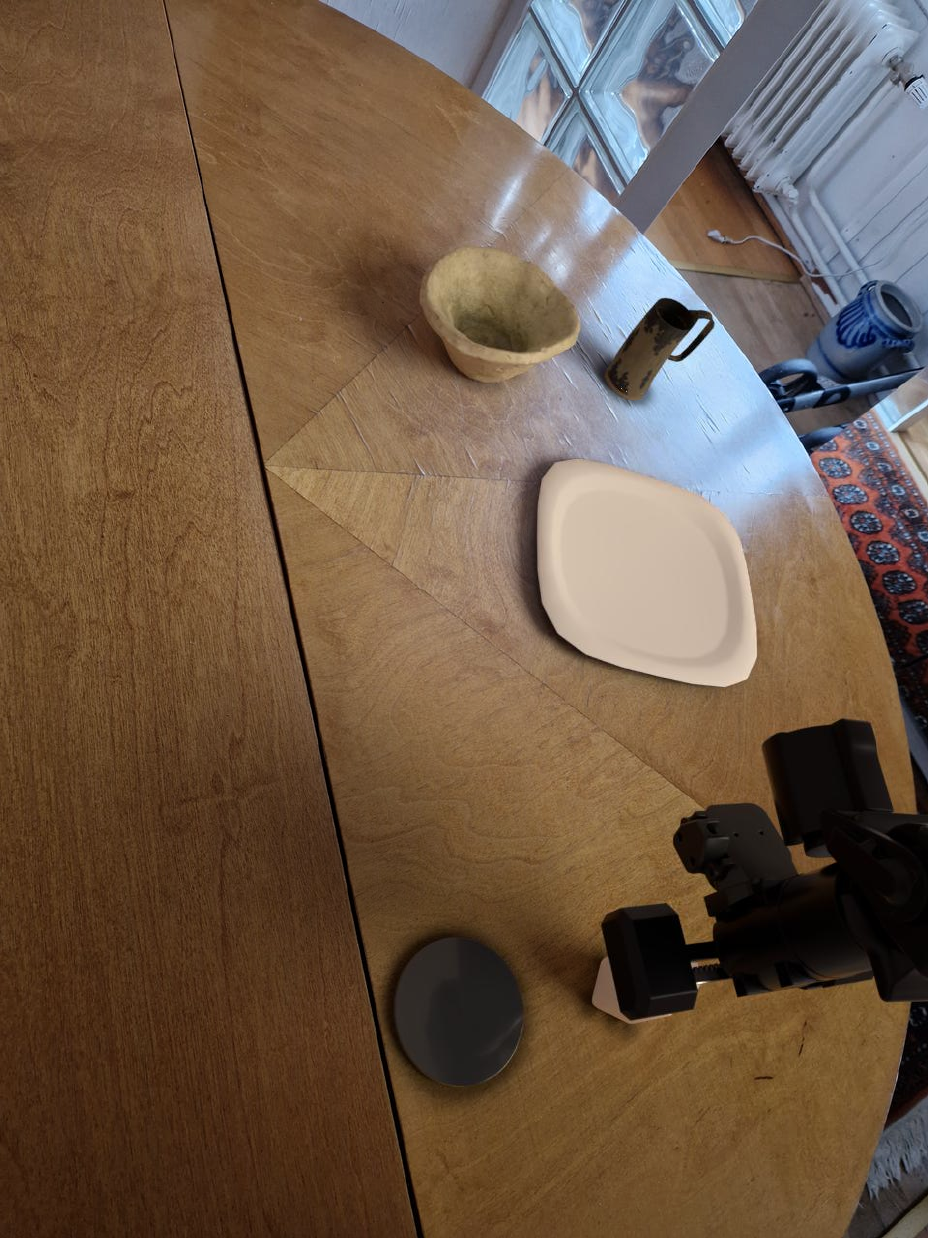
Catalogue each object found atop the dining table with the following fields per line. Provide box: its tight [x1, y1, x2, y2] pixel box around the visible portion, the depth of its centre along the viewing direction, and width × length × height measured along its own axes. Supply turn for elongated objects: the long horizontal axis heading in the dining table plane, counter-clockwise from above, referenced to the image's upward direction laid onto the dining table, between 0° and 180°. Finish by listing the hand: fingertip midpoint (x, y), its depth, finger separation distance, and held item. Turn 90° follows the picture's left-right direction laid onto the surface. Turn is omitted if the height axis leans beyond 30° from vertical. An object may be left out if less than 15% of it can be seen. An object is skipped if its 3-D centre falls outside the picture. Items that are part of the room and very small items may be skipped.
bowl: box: [418, 246, 581, 384], centre depth 95 cm, size 14×18×15 cm
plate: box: [536, 458, 758, 689], centre depth 92 cm, size 25×25×2 cm
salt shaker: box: [591, 956, 701, 1025], centre depth 66 cm, size 4×4×10 cm
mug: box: [604, 297, 716, 401], centre depth 103 cm, size 8×6×12 cm
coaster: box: [392, 936, 525, 1088], centre depth 65 cm, size 10×10×1 cm
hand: (672, 968), depth 63 cm, fingers open, 9 cm apart
